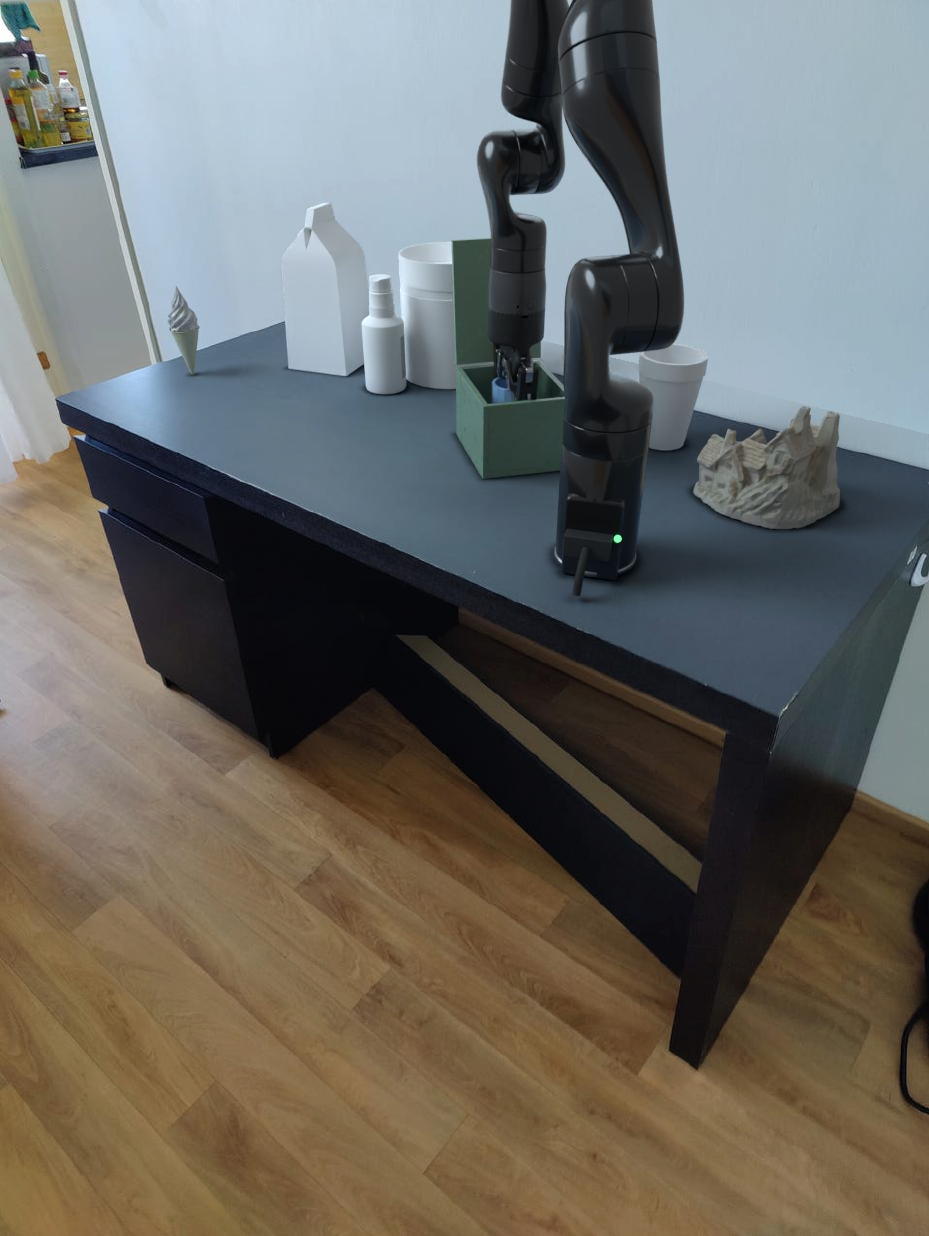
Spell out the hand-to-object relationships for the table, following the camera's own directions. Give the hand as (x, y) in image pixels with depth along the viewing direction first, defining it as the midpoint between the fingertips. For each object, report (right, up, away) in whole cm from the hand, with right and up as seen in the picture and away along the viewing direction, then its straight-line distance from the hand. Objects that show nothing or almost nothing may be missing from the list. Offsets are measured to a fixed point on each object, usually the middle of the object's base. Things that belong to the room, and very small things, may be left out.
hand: (512, 424), depth 125 cm
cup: (0, -1, +1) cm, 1 cm away
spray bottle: (-20, +11, +25) cm, 34 cm away
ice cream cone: (-55, +15, +30) cm, 64 cm away
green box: (0, -3, +3) cm, 4 cm away
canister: (-10, +16, +31) cm, 36 cm away
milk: (-31, +19, +36) cm, 51 cm away
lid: (-2, +17, -1) cm, 17 cm away
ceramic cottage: (+32, -12, -10) cm, 36 cm away
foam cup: (+22, -2, +6) cm, 23 cm away
